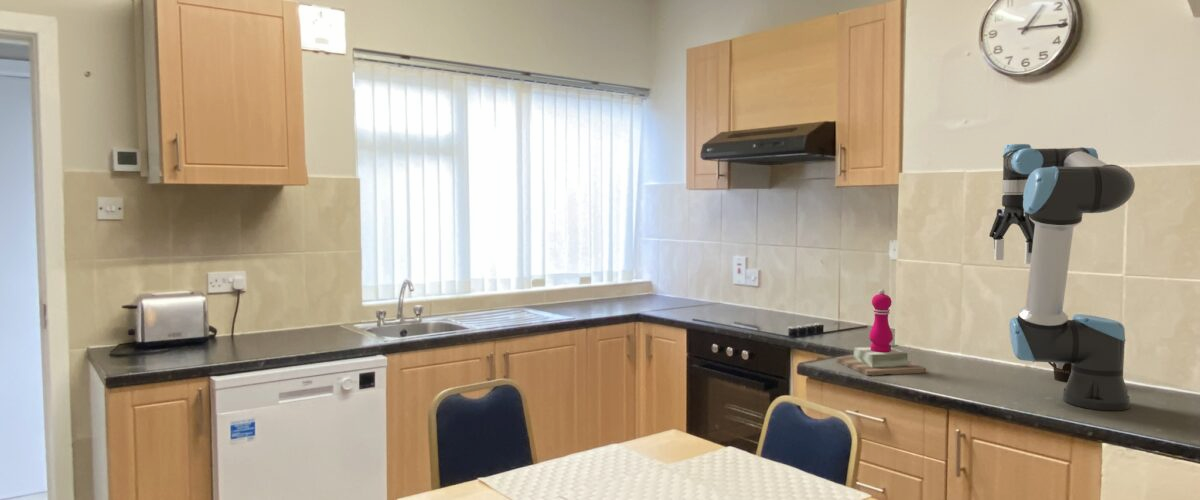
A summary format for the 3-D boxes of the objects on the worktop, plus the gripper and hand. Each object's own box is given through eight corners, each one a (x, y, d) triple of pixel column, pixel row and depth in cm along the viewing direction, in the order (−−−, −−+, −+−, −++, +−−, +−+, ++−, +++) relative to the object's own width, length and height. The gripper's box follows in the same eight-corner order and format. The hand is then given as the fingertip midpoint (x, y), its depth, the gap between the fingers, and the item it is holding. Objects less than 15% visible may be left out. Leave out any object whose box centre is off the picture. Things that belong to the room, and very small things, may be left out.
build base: (925, 372, 239) (926, 355, 238) (866, 375, 236) (867, 358, 235) (891, 359, 259) (891, 343, 258) (836, 361, 255) (836, 345, 255)
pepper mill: (864, 348, 250) (866, 288, 248) (885, 347, 251) (887, 287, 249) (875, 353, 243) (876, 290, 241) (896, 352, 243) (898, 290, 242)
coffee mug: (1090, 383, 224) (1091, 350, 223) (1060, 383, 224) (1061, 350, 224) (1066, 374, 236) (1068, 342, 235) (1038, 374, 236) (1039, 342, 235)
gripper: (1056, 193, 226) (1054, 264, 227) (999, 194, 250) (997, 258, 252) (1034, 194, 225) (1031, 265, 226) (978, 194, 249) (976, 258, 251)
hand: (1013, 261), depth 239 cm, fingers open, 13 cm apart
